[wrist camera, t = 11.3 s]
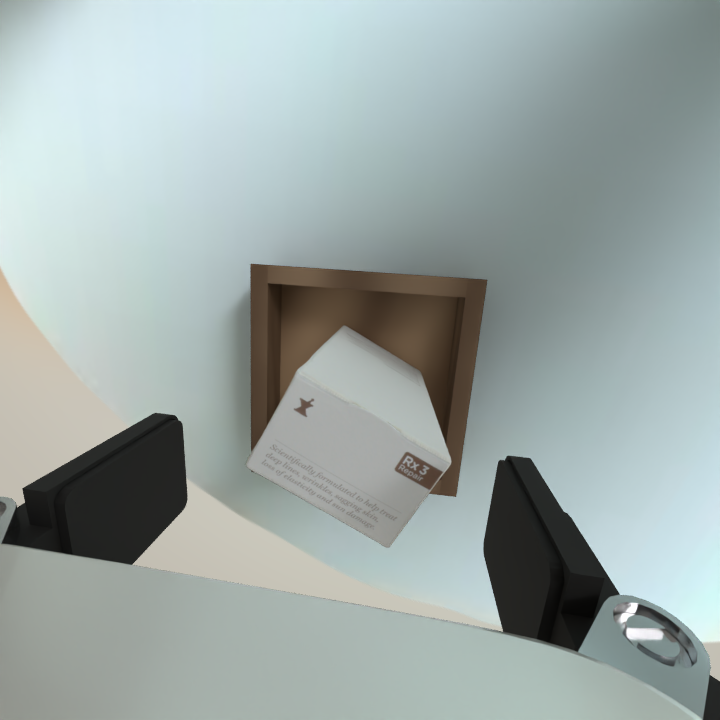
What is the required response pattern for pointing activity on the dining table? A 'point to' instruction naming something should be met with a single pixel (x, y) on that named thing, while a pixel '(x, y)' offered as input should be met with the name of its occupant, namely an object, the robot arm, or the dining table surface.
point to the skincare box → (355, 437)
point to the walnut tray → (368, 336)
